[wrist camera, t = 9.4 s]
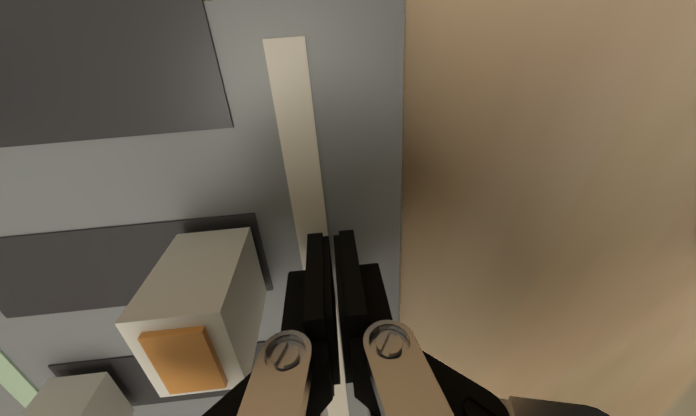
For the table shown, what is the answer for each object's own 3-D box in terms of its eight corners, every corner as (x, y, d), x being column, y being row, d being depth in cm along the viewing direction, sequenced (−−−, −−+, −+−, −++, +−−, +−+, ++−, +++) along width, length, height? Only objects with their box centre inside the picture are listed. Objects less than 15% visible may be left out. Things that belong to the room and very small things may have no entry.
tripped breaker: (249, 227, 11) (217, 318, 8) (267, 292, 13) (246, 393, 9) (177, 234, 11) (109, 330, 8) (202, 299, 13) (157, 404, 9)
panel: (394, -24, 10) (406, -33, 8) (392, 414, 22) (397, 440, 21) (-371, 30, 9) (-496, 30, 8) (66, 454, 21) (48, 484, 20)
